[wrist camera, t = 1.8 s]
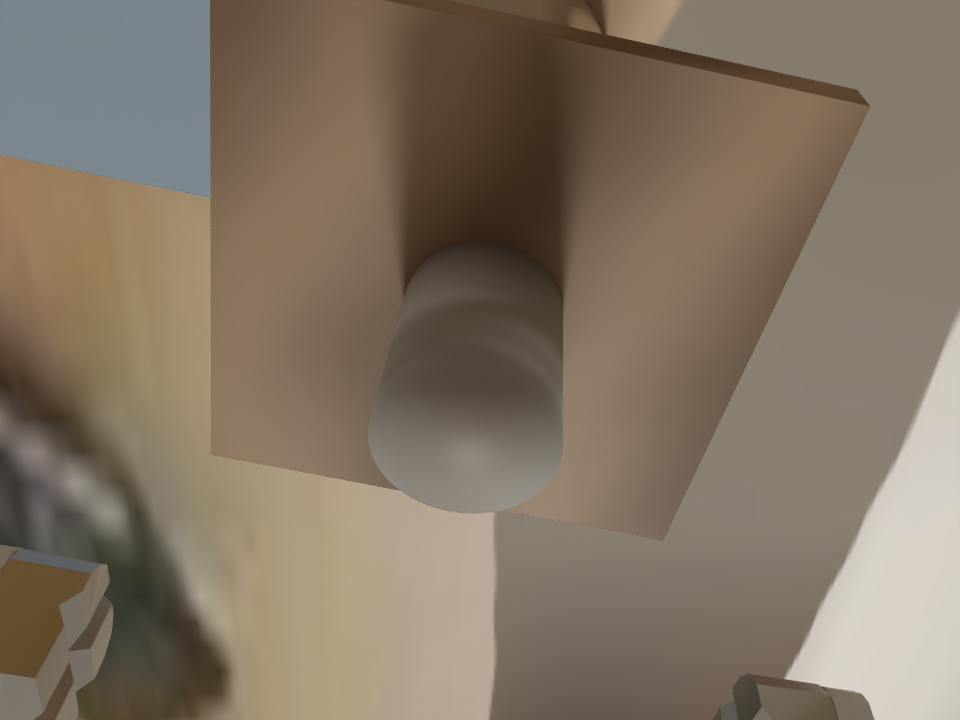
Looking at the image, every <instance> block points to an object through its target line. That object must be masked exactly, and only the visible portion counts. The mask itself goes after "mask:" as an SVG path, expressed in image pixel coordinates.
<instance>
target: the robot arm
mask: <svg viewBox="0 0 960 720" xmlns="http://www.w3.org/2000/svg"><path fill="white" fill-rule="evenodd" d="M109 582H110V581H109V575H108V569H107V565H105V564H100V563H95V562H89V561H84V560H79V559H73V558H68V557H63V556H57V555H52V554H46V553H41V552H36V551H30V550H25V549H22V548H16V547H10V546H5V545H0V720H75V719H76V716H77V714H78V705H77V698H76V691H77V690H79V689H80V688H82V687H83V686H85V685H86V684H87V683H89V682H90V681H92V680H93V679H94V678H95V676H96V674H97V672H98V670H99V667H100V665H101V663H102V661H103V659H104V656H105V653H106V650H107V646H108V643H109V639H110V636H111V632H112V623H113V609H112V604H111V603H110V602H109V601H108V600H107V599H106V598H105V597H104V596H103V594H104V592H105V590H106V588H107V586H108V584H109ZM733 693H734V699H735V701H732V702H730V703H728V704H726V705H723V706H721V707H720V708H719V710H718V711H717V713H716V715H715V717H714V718H713V720H874V717H873V714H872V711H871V708H870V706H869V703H868V701H867V700H866V699H865V697H864V696H863V695H862V694H860V693H857V692H854V691H848V690H842V689H835V688H828V687H821V686H819V685H818V684H811V683H805V682H798V681H792V680H785V679H779V678H772V677H766V676H759V675H753V674H746V675H744V676H741V677H740V678H739V679H738V681H737V682H736V684H735V685H734V686H733Z"/></svg>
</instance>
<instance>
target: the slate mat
mask: <svg viewBox="0 0 960 720" xmlns="http://www.w3.org/2000/svg"><path fill="white" fill-rule="evenodd" d="M0 155H4V156H9V157H14V158H19V159H24V160H29V161H34V162H39V163H43V164H48V165H53V166H58V167H63V168H68V169H73V170H77V171H82V172H87V173H92V174H97V175H102V176H107V177H112V178H116V179H121V180H126V181H131V182H136V183H141V184H146V185H150V186H155V187H160V188H165V189H170V190H175V191H180V192H185V193H189V194H194V195H199V196H204V197H209V198H211V178H210V0H0Z"/></svg>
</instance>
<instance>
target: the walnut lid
mask: <svg viewBox="0 0 960 720" xmlns="http://www.w3.org/2000/svg"><path fill="white" fill-rule="evenodd" d="M869 108H870V105H869V104H868V103H867V102H866V100H865V99H864V98H863V97H862V95H861V94H860V93H859V92H858V90H856V89H851V88H847V87H842V86H837V85H833V84H828V83H824V82H819V81H815V80H810V79H806V78H801V77H797V76H792V75H787V74H783V73H778V72H774V71H769V70H765V69H760V68H755V67H750V66H746V65H742V64H737V63H732V62H728V61H724V60H719V59H714V58H710V57H705V56H701V55H696V54H692V53H687V52H682V51H678V50H673V49H669V48H664V47H660V46H655V45H651V44H646V43H641V42H637V41H632V40H628V39H623V38H619V37H614V36H609V35H605V34H600V33H596V32H591V31H587V30H582V29H578V28H573V27H568V26H564V25H559V24H555V23H550V22H546V21H541V20H536V19H532V18H527V17H523V16H518V15H514V14H509V13H505V12H500V11H495V10H491V9H486V8H482V7H477V6H473V5H468V4H463V3H459V2H454V1H450V0H210V178H211V455H216V456H221V457H226V458H232V459H237V460H242V461H247V462H253V463H258V464H263V465H268V466H274V467H279V468H284V469H290V470H295V471H300V472H305V473H311V474H316V475H321V476H326V477H332V478H337V479H342V480H347V481H353V482H358V483H363V484H368V485H374V486H379V487H384V488H390V489H395V490H400V491H402V492H403V493H404V494H406V495H408V496H409V497H411V498H413V499H415V500H417V501H419V502H421V503H423V504H426V505H429V506H432V507H434V508H438V509H442V510H446V511H451V512H458V513H488V512H496V511H500V510H505V511H511V512H516V513H521V514H527V515H532V516H538V517H542V518H547V519H553V520H558V521H564V522H569V523H574V524H579V525H584V526H590V527H595V528H600V529H605V530H611V531H616V532H621V533H626V534H632V535H637V536H642V537H648V538H653V539H658V540H663V539H664V537H665V535H666V533H667V531H668V529H669V527H670V525H671V523H672V521H673V518H674V516H675V514H676V512H677V510H678V508H679V506H680V504H681V501H682V500H683V497H684V495H685V493H686V491H687V489H688V487H689V485H690V483H691V481H692V479H693V476H694V474H695V472H696V470H697V468H698V466H699V464H700V462H701V460H702V458H703V456H704V453H705V451H706V449H707V447H708V445H709V443H710V441H711V439H712V437H713V435H714V432H715V430H716V428H717V426H718V424H719V422H720V420H721V418H722V416H723V414H724V412H725V410H726V407H727V405H728V403H729V401H730V399H731V397H732V395H733V393H734V391H735V389H736V386H737V384H738V382H739V380H740V378H741V376H742V374H743V372H744V370H745V368H746V366H747V363H748V361H749V359H750V357H751V355H752V353H753V351H754V349H755V347H756V345H757V342H758V340H759V338H760V336H761V334H762V332H763V330H764V328H765V326H766V324H767V322H768V319H769V317H770V315H771V313H772V311H773V309H774V307H775V305H776V303H777V301H778V298H779V296H780V294H781V292H782V290H783V288H784V286H785V284H786V282H787V280H788V278H789V275H790V273H791V271H792V269H793V267H794V265H795V263H796V261H797V259H798V257H799V255H800V252H801V250H802V248H803V246H804V244H805V242H806V240H807V238H808V236H809V233H810V231H811V229H812V227H813V225H814V223H815V221H816V219H817V217H818V214H819V213H820V211H821V208H822V206H823V204H824V202H825V200H826V198H827V196H828V194H829V192H830V190H831V187H832V185H833V183H834V181H835V179H836V177H837V175H838V173H839V170H840V169H841V167H842V164H843V162H844V160H845V158H846V156H847V154H848V151H849V150H850V148H851V146H852V143H853V141H854V139H855V137H856V135H857V133H858V131H859V129H860V126H861V125H862V122H863V120H864V118H865V116H866V114H867V112H868V110H869Z"/></svg>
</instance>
